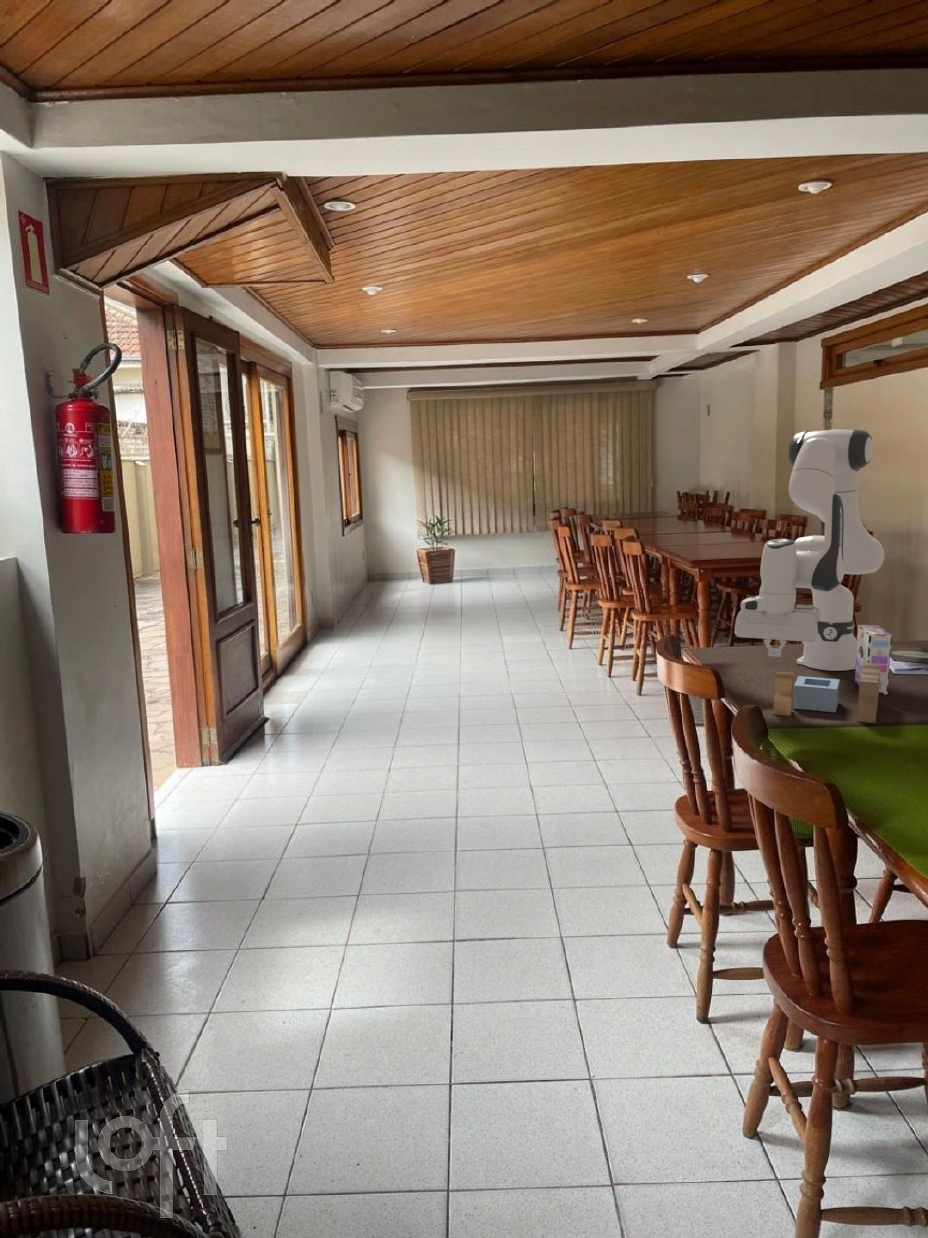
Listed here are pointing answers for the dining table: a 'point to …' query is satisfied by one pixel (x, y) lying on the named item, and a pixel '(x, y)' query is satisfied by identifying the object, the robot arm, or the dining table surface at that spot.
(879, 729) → the dining table surface
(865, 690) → the wall
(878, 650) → the candy box
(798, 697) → the socket block
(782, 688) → the tan wooden block
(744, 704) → the dining table surface
